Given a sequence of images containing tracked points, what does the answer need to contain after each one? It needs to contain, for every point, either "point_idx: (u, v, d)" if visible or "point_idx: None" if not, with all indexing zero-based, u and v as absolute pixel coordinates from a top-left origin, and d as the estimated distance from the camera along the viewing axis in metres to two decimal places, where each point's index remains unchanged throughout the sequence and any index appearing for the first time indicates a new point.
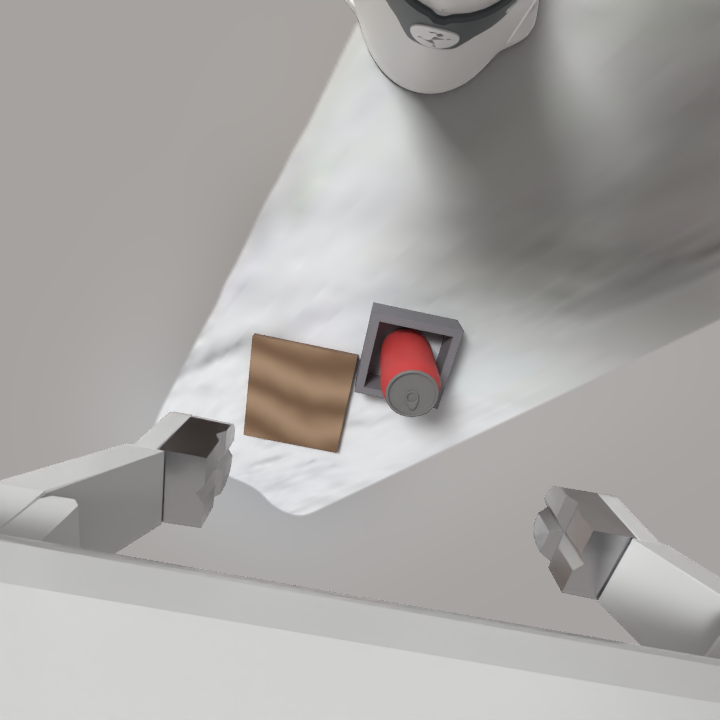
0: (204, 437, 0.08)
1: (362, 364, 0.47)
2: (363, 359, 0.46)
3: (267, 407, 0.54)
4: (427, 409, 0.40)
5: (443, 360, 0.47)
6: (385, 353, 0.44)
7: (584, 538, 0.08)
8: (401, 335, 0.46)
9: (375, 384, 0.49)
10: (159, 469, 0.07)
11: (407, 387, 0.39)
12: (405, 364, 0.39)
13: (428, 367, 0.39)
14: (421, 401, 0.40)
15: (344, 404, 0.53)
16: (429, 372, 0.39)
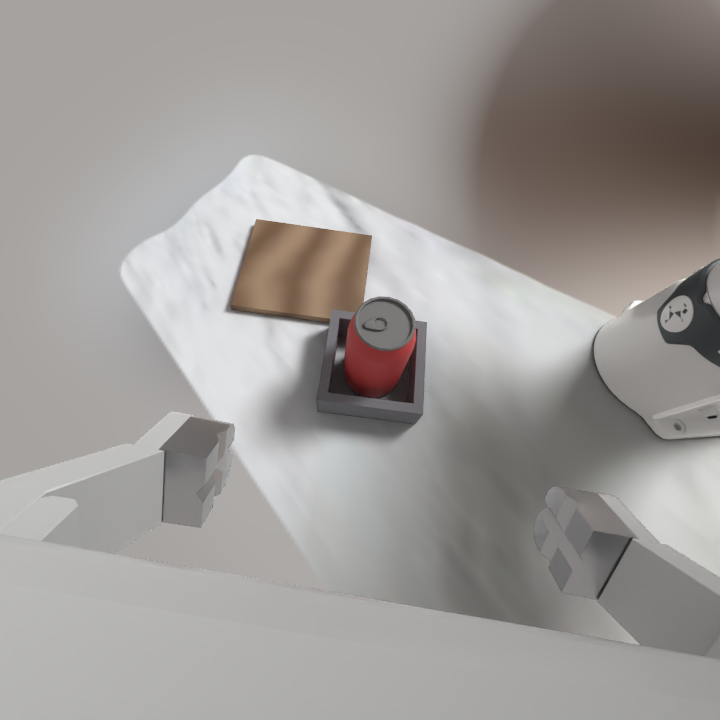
0: (204, 437, 0.08)
1: None
2: None
3: (291, 241, 0.50)
4: (367, 340, 0.33)
5: None
6: None
7: (584, 538, 0.08)
8: None
9: (337, 335, 0.43)
10: (159, 469, 0.07)
11: (391, 318, 0.34)
12: None
13: (412, 343, 0.34)
14: (375, 334, 0.33)
15: (300, 312, 0.46)
16: (410, 343, 0.34)
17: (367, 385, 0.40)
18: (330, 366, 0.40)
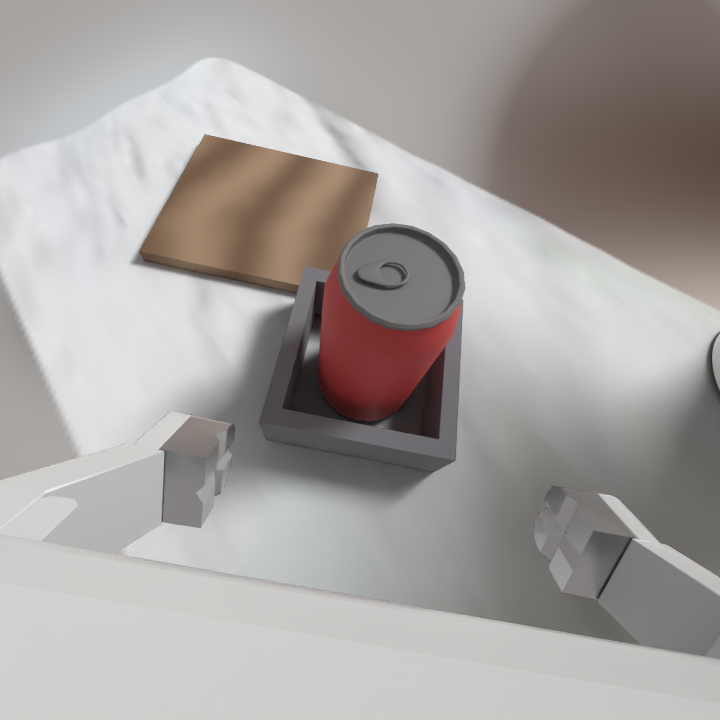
0: (204, 437, 0.08)
1: None
2: None
3: (255, 169, 0.33)
4: (362, 304, 0.15)
5: None
6: None
7: (584, 538, 0.08)
8: None
9: (311, 310, 0.25)
10: (159, 469, 0.07)
11: (414, 267, 0.16)
12: None
13: (455, 321, 0.17)
14: (381, 295, 0.16)
15: (256, 272, 0.28)
16: (452, 320, 0.16)
17: (356, 401, 0.22)
18: (292, 361, 0.22)
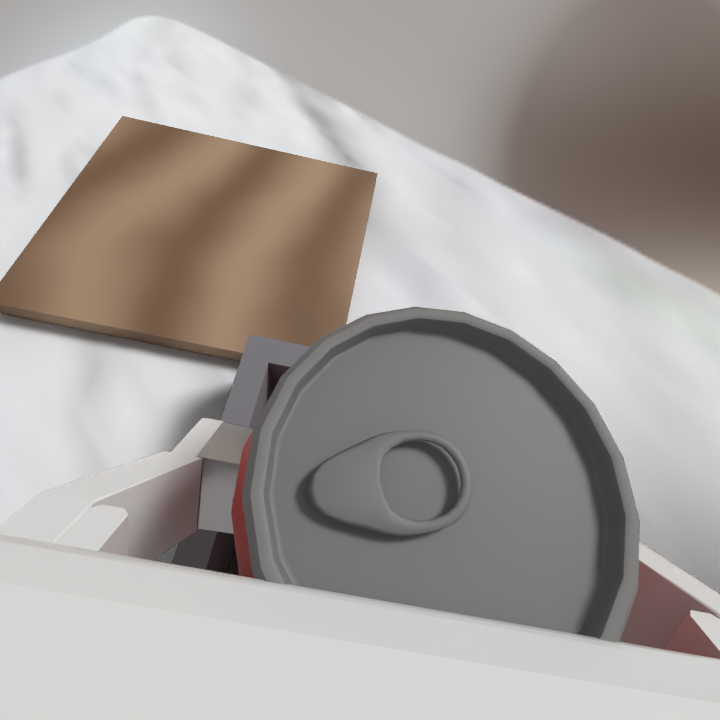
0: (238, 444, 0.08)
1: None
2: None
3: (194, 168, 0.22)
4: None
5: None
6: None
7: None
8: None
9: (260, 411, 0.15)
10: (197, 476, 0.07)
11: (480, 443, 0.06)
12: None
13: None
14: (386, 565, 0.05)
15: (179, 333, 0.17)
16: None
17: None
18: (209, 539, 0.11)
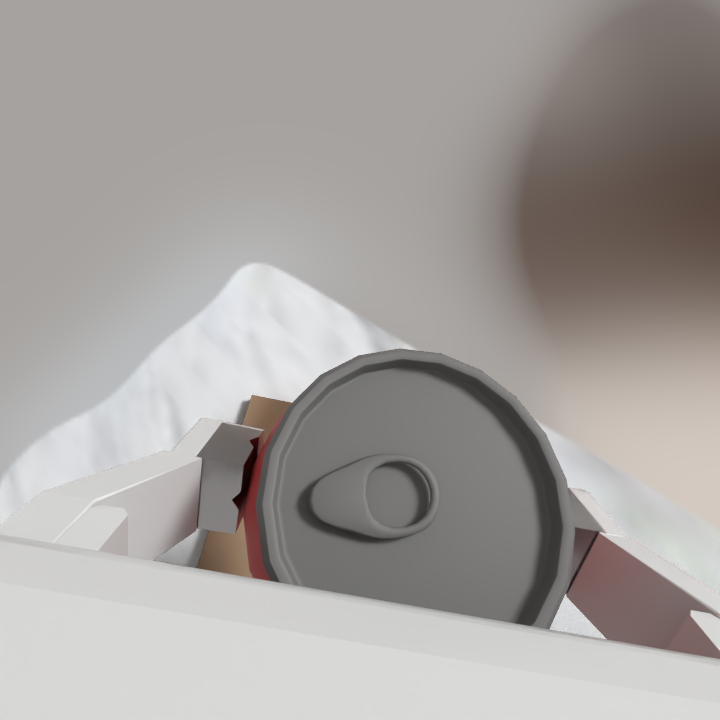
0: (238, 443, 0.08)
1: None
2: None
3: None
4: None
5: None
6: None
7: None
8: None
9: None
10: (197, 476, 0.07)
11: (449, 464, 0.07)
12: None
13: None
14: (368, 562, 0.06)
15: None
16: None
17: None
18: None
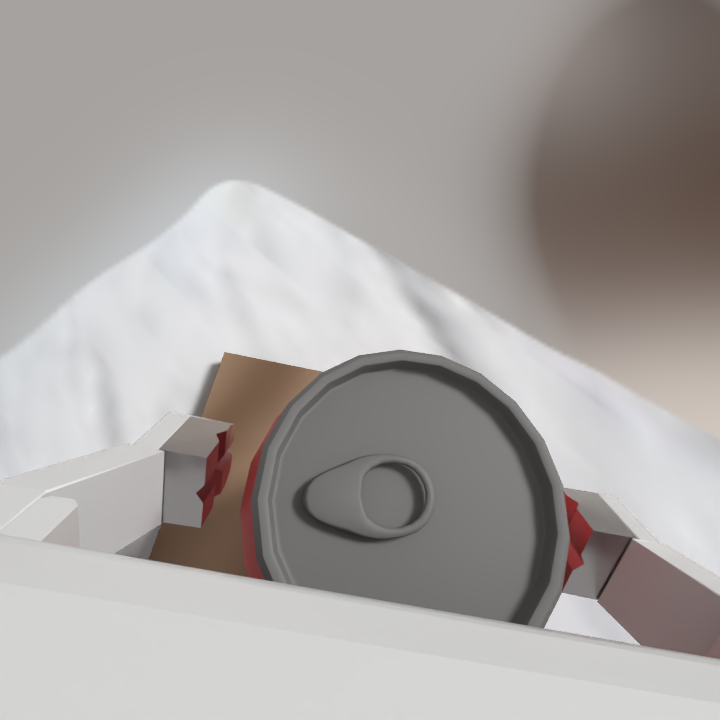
0: (204, 437, 0.08)
1: None
2: None
3: None
4: None
5: None
6: None
7: (584, 538, 0.08)
8: None
9: None
10: (159, 469, 0.07)
11: (445, 467, 0.07)
12: None
13: None
14: (361, 561, 0.06)
15: None
16: None
17: None
18: None
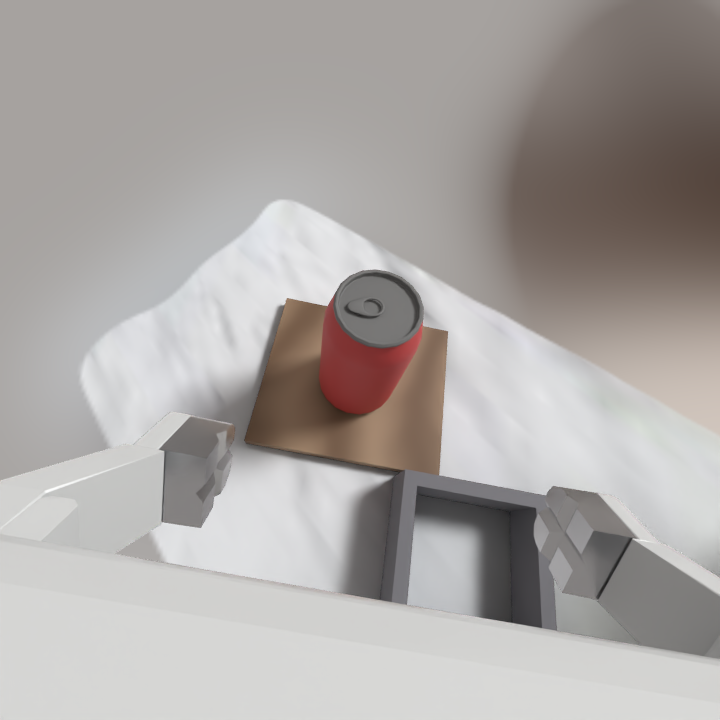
0: (204, 437, 0.08)
1: (458, 481, 0.28)
2: (467, 483, 0.28)
3: None
4: (349, 328, 0.22)
5: None
6: None
7: (584, 538, 0.08)
8: None
9: None
10: (159, 469, 0.07)
11: (388, 302, 0.23)
12: None
13: (416, 342, 0.23)
14: (363, 322, 0.22)
15: (350, 455, 0.30)
16: (413, 341, 0.23)
17: (346, 397, 0.28)
18: (406, 581, 0.24)
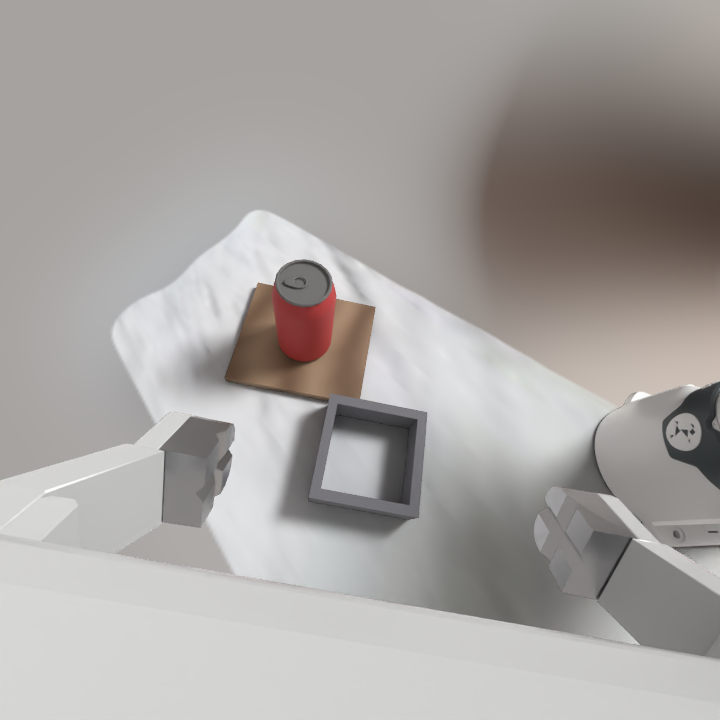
0: (204, 437, 0.08)
1: (366, 402, 0.42)
2: (372, 403, 0.42)
3: None
4: (283, 294, 0.36)
5: None
6: None
7: (584, 538, 0.08)
8: None
9: None
10: (159, 469, 0.07)
11: (311, 280, 0.37)
12: (333, 285, 0.38)
13: (328, 305, 0.37)
14: (293, 291, 0.36)
15: (297, 389, 0.44)
16: (325, 303, 0.37)
17: (292, 346, 0.42)
18: (325, 458, 0.38)
